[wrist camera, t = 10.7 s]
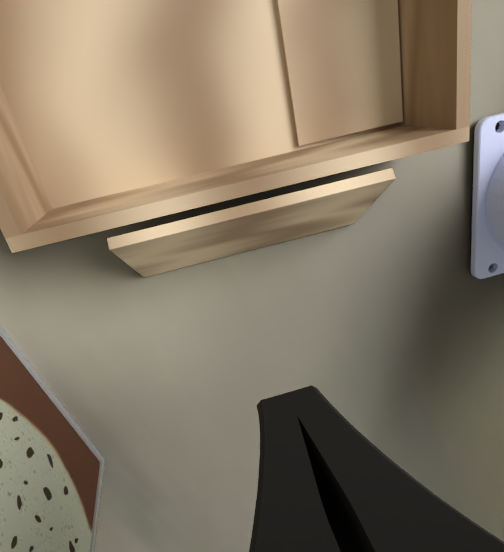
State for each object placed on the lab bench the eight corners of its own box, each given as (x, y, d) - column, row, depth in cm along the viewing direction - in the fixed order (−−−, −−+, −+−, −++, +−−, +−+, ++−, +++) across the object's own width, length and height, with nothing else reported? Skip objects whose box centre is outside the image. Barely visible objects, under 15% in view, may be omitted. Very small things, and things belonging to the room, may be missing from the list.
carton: (394, -253, 13) (491, -412, 9) (411, 207, 19) (472, 232, 15) (-122, -173, 12) (-276, -319, 8) (78, 292, 18) (51, 344, 14)
